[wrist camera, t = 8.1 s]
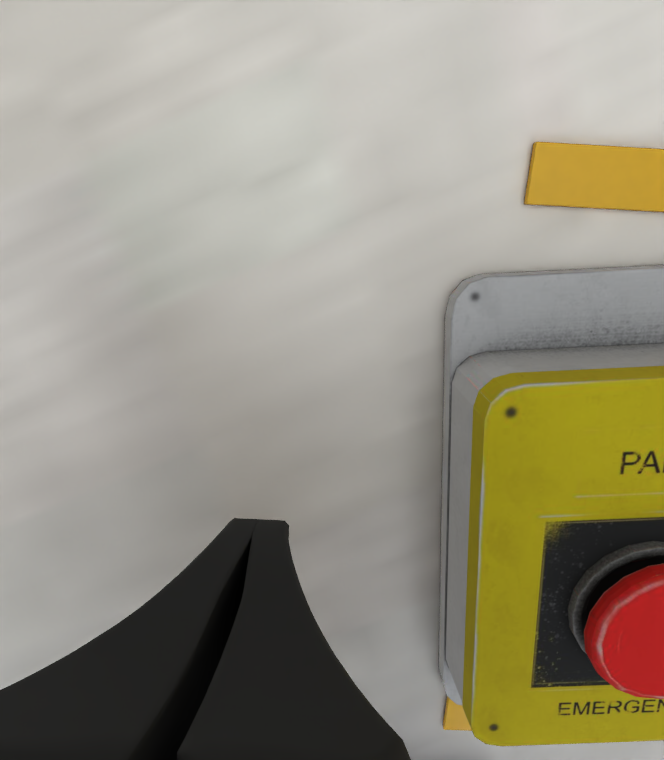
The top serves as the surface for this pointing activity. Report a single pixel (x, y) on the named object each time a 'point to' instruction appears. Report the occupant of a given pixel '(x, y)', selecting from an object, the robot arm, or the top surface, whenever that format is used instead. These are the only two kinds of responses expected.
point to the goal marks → (587, 190)
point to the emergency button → (554, 506)
